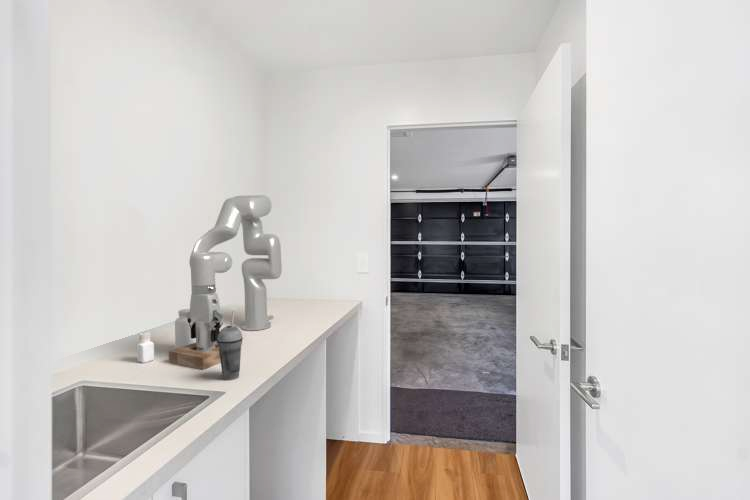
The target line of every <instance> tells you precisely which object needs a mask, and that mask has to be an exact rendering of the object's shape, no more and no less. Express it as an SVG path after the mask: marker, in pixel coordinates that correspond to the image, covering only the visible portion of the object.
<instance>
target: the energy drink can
mask: <svg viewBox="0 0 750 500" xmlns="http://www.w3.org/2000/svg"><path fill="white" fill-rule="evenodd" d="M212 321H214V320H212ZM195 322H196V350H197V351H202V352H205V351H208V350H211V349H214V348H215V342H211V330H212V328H211V326H210V325H209V324H205V323H204V322H203V321H202V320H201V319H197V320H196V321H195ZM214 326H215V323H214Z"/></svg>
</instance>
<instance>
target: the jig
mask: <svg viewBox="0 0 750 500" xmlns="http://www.w3.org/2000/svg"><path fill="white" fill-rule="evenodd" d="M168 362H169V364H174V365H178V366H183V367H188V368H192V369H198V370H202V371H203V370H205V369H206V370H207V369H209V368H211V367H213V366H216V365H218V364H221V360H220V352H219V347H218V342H217V341H215V348H214V349H211V350H208V351H205V352H202V351H197V350H196V343H192V344H189V345H186V346H183V347H180V348H177V349H176V348H174V349H171V350H168Z"/></svg>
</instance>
